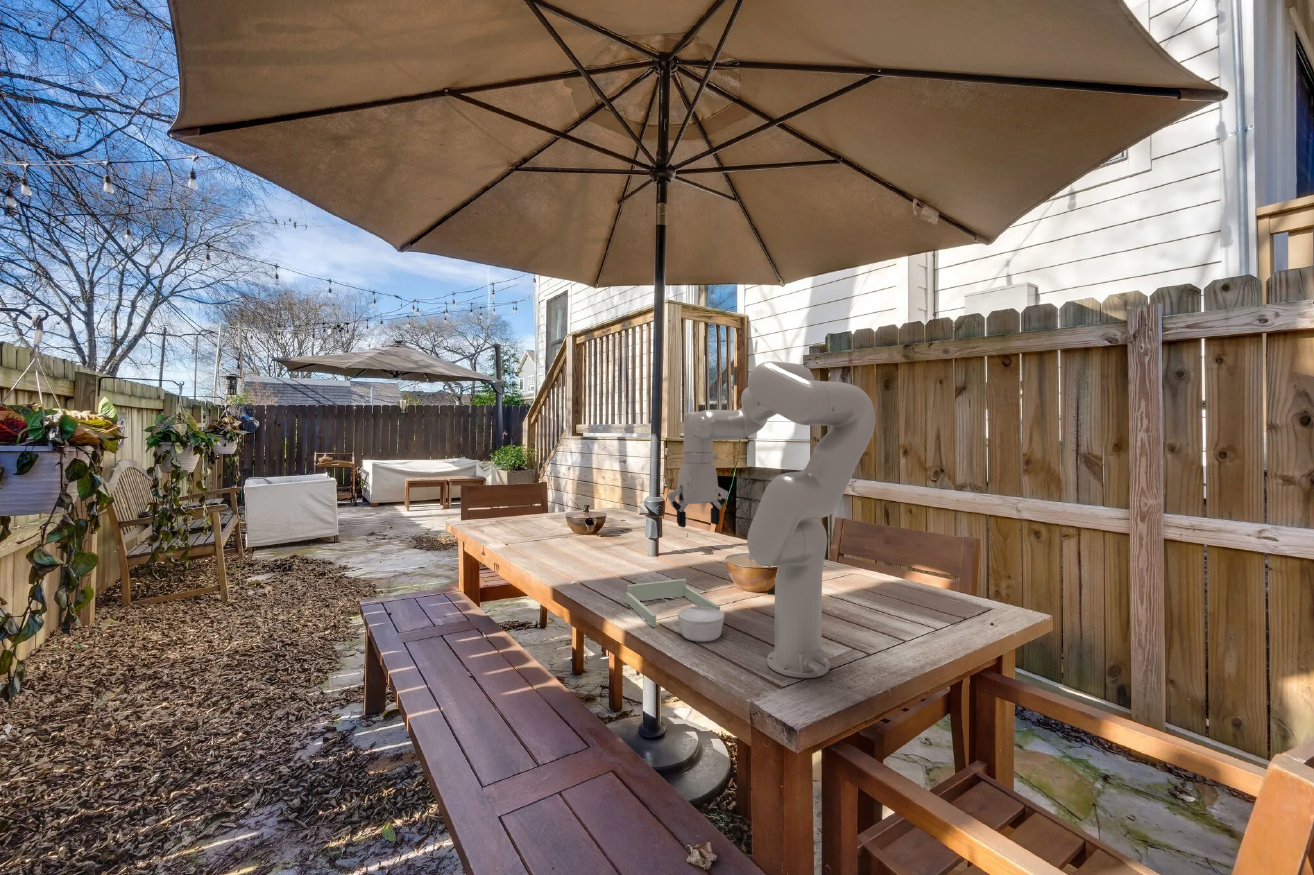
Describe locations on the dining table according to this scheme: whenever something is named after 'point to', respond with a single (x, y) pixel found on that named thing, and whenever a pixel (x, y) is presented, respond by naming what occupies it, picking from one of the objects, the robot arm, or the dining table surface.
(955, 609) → the dining table surface
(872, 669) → the dining table surface
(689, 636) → the ramekin
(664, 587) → the green three-sided fence
